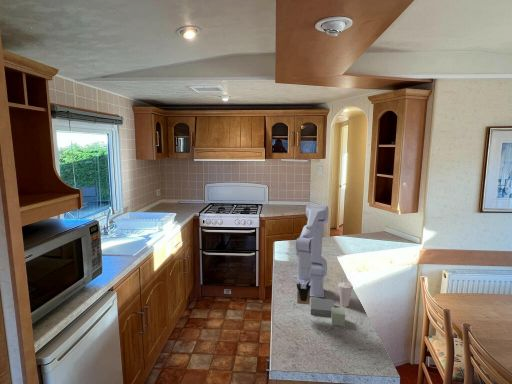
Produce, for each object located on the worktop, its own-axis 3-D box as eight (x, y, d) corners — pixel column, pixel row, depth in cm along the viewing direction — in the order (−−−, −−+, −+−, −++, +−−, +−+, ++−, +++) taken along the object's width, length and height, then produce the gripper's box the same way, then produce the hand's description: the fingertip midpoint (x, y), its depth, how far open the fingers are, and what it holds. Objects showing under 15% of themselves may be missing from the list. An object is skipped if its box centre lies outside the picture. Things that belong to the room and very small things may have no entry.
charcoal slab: (311, 303, 144) (311, 297, 144) (333, 305, 143) (333, 299, 142) (310, 315, 135) (310, 308, 134) (334, 317, 133) (334, 311, 132)
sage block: (331, 318, 132) (331, 307, 131) (343, 319, 131) (343, 308, 130) (331, 325, 127) (332, 313, 126) (344, 326, 126) (345, 314, 125)
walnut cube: (297, 297, 133) (298, 286, 132) (309, 298, 132) (310, 287, 131) (297, 303, 128) (297, 291, 128) (309, 304, 127) (309, 292, 127)
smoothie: (340, 300, 147) (342, 271, 145) (354, 304, 143) (355, 275, 141) (334, 305, 142) (335, 276, 140) (348, 309, 138) (349, 279, 136)
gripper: (295, 259, 136) (295, 288, 138) (293, 272, 122) (292, 305, 124) (312, 260, 134) (311, 290, 136) (311, 273, 120) (310, 307, 122)
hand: (303, 297), depth 130 cm, fingers closed on walnut cube, 5 cm apart
